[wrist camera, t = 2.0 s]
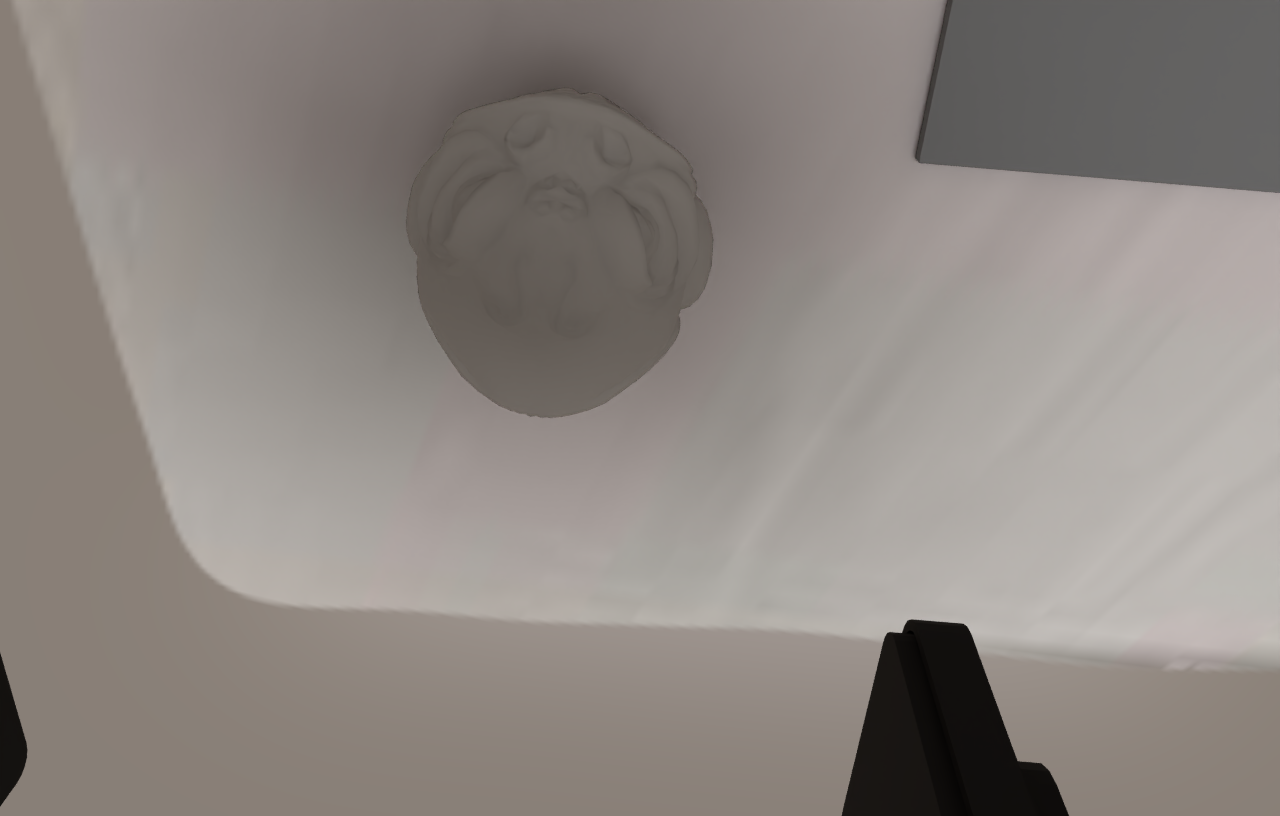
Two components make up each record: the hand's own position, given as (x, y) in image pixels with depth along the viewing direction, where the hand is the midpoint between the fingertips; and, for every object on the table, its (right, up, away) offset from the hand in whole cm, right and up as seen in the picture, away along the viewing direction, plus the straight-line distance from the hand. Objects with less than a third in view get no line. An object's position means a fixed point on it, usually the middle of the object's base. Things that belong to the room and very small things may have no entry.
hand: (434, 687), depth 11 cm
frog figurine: (+1, +8, +13) cm, 15 cm away
